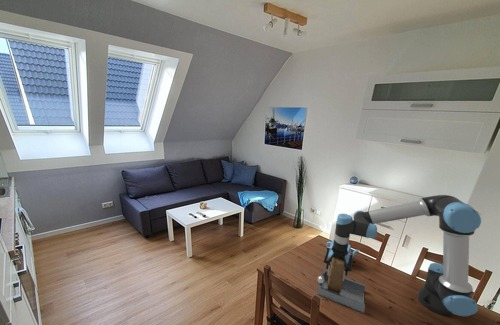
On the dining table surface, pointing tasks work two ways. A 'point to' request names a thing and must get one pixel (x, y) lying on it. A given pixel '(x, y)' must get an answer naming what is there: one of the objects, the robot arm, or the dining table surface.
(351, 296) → the dock
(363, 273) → the dining table surface
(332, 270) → the brown blocky piece
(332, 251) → the teapot
